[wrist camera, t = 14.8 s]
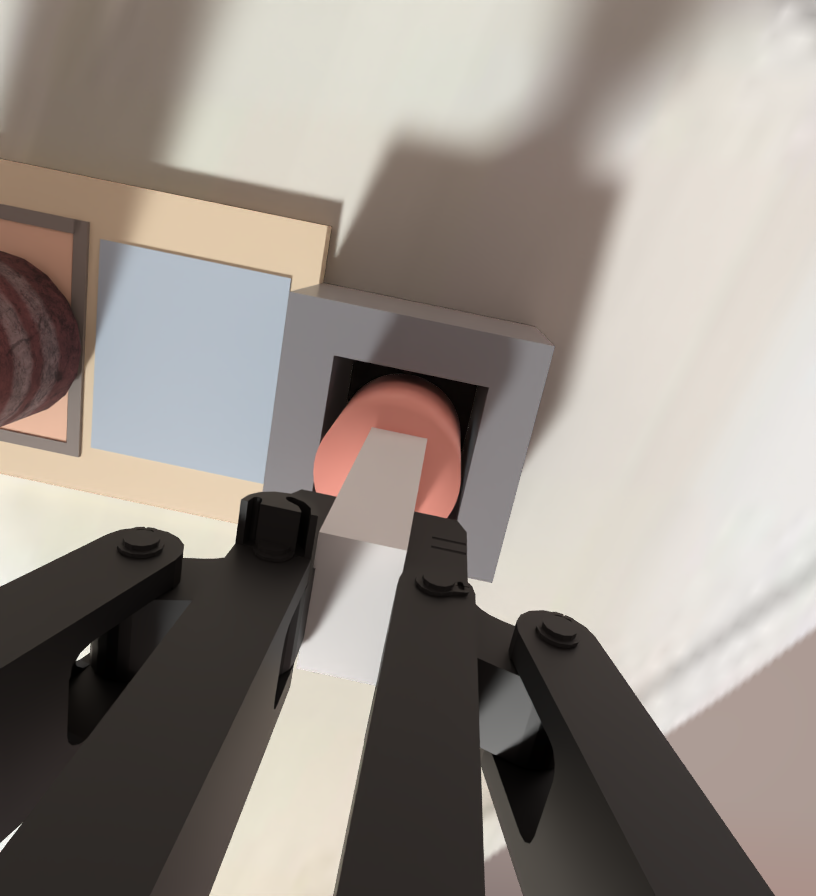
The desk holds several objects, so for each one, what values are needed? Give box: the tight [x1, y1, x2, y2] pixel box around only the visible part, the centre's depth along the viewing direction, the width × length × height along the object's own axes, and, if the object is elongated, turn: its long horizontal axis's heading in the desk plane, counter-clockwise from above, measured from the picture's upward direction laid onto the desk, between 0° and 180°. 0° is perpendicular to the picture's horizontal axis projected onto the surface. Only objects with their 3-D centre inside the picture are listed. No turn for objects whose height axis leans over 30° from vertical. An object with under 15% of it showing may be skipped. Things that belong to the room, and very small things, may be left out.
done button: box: [313, 374, 461, 518], centre depth 20 cm, size 4×4×4 cm
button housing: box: [263, 283, 555, 583], centre depth 23 cm, size 8×8×5 cm
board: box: [0, 159, 332, 524], centre depth 25 cm, size 22×12×1 cm, turn 79°
